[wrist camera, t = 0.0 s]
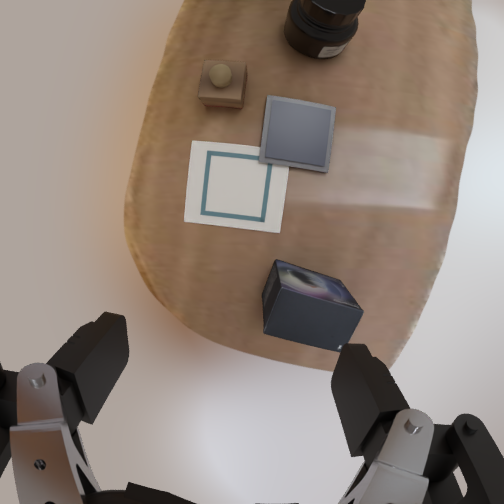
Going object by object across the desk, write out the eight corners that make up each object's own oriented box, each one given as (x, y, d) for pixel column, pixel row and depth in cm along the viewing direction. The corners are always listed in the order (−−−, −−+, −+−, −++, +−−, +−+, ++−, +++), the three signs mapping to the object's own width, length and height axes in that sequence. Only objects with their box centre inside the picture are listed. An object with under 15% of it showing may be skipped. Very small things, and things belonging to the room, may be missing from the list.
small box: (342, 277, 40) (367, 310, 30) (325, 315, 42) (343, 355, 32) (275, 256, 39) (282, 285, 29) (260, 297, 41) (261, 336, 31)
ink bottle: (332, 72, 32) (361, 38, 20) (273, 46, 31) (279, 3, 19) (353, 26, 29) (382, -12, 18) (298, 2, 28) (311, -44, 17)
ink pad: (267, 97, 33) (267, 94, 32) (333, 109, 33) (337, 106, 32) (258, 162, 36) (258, 161, 34) (325, 172, 36) (329, 172, 34)
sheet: (192, 140, 35) (192, 140, 35) (291, 151, 35) (291, 151, 35) (184, 221, 38) (183, 221, 38) (279, 232, 38) (279, 233, 38)
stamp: (210, 72, 32) (201, 53, 26) (247, 75, 32) (245, 55, 26) (205, 105, 34) (194, 92, 27) (242, 108, 34) (239, 95, 27)
